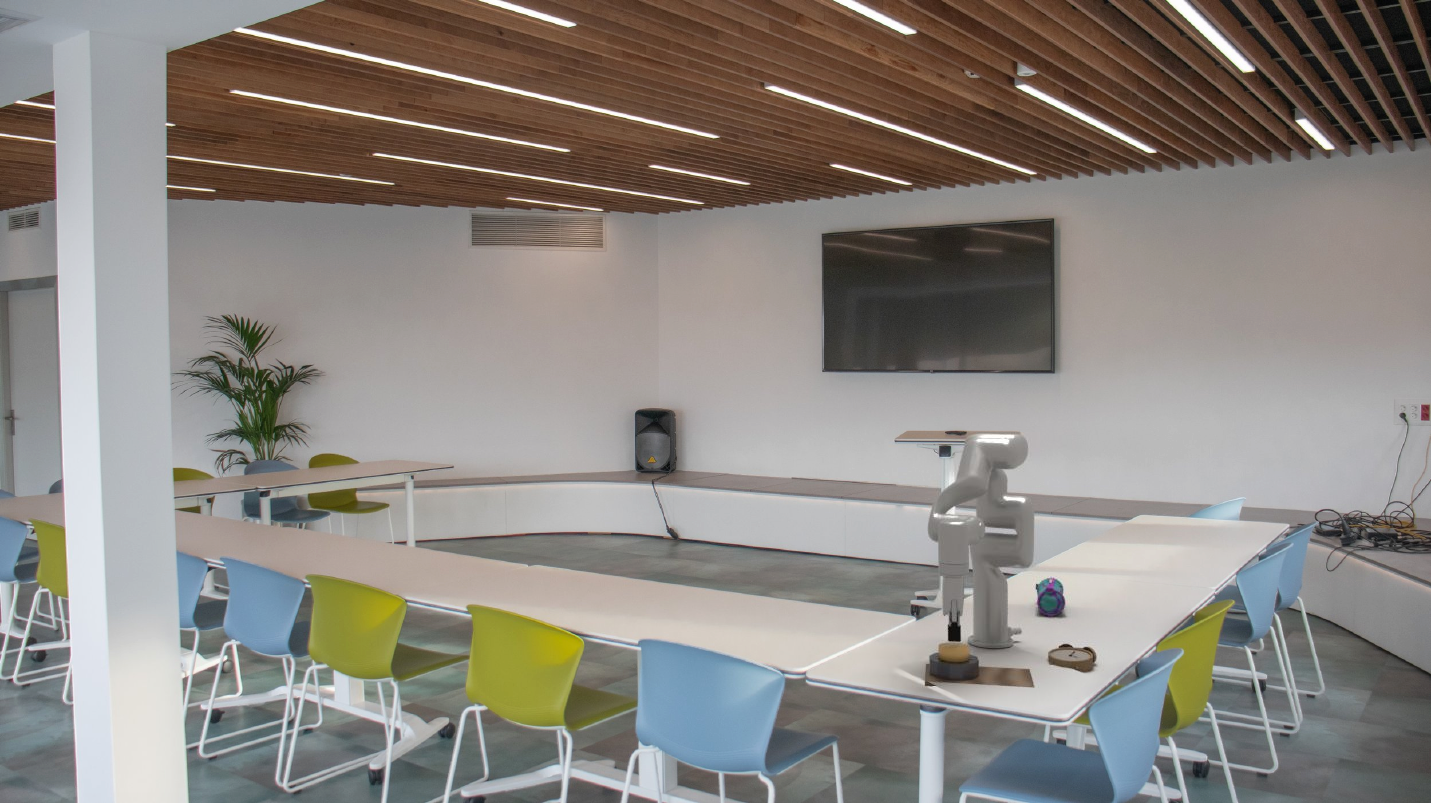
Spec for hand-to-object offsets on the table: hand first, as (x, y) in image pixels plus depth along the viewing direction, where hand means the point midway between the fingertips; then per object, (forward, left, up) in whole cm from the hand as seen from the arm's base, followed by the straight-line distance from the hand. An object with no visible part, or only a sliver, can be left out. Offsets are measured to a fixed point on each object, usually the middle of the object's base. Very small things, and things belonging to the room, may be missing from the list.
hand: (954, 640), depth 264 cm
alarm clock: (-35, +3, -10) cm, 37 cm away
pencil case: (-73, -51, -10) cm, 90 cm away
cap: (0, 0, -8) cm, 8 cm away
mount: (-4, +4, -9) cm, 11 cm away
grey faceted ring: (0, 0, -8) cm, 8 cm away
